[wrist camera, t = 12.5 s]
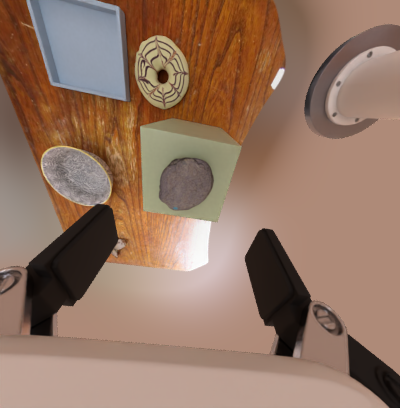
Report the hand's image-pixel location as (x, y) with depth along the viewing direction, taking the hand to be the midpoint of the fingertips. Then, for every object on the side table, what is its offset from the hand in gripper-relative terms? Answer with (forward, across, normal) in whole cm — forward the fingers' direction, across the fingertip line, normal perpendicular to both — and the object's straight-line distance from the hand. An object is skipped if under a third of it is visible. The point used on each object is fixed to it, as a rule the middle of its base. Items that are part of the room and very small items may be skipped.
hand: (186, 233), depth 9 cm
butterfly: (+33, +27, +46) cm, 63 cm away
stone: (+12, +1, +2) cm, 12 cm away
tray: (+33, +25, -12) cm, 43 cm away
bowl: (+33, +28, +13) cm, 46 cm away
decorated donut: (+34, +10, -11) cm, 37 cm away
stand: (+33, +1, +2) cm, 34 cm away
